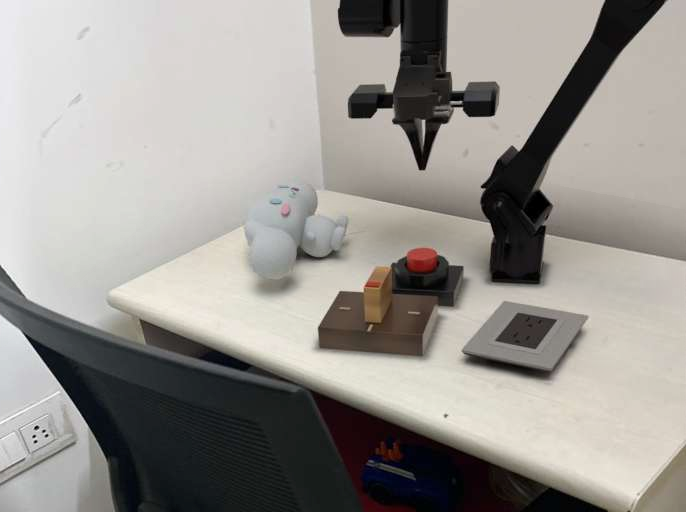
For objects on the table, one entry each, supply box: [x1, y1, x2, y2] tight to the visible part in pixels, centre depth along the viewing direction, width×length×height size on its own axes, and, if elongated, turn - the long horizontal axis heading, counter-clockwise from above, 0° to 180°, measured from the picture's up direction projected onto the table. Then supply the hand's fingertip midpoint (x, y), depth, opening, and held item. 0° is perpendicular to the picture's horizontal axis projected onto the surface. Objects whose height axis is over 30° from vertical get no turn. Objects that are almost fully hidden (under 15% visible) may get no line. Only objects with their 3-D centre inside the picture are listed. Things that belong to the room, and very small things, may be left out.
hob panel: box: [317, 290, 439, 357], centre depth 97 cm, size 13×10×3 cm
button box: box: [389, 254, 465, 308], centre depth 104 cm, size 10×8×4 cm
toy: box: [243, 179, 349, 280], centre depth 116 cm, size 30×10×15 cm
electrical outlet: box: [461, 300, 589, 373], centre depth 91 cm, size 13×10×2 cm
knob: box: [363, 265, 392, 323], centre depth 94 cm, size 6×2×5 cm, turn 162°
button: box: [406, 247, 438, 272], centre depth 102 cm, size 4×4×2 cm
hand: (422, 169), depth 104 cm, fingers closed
